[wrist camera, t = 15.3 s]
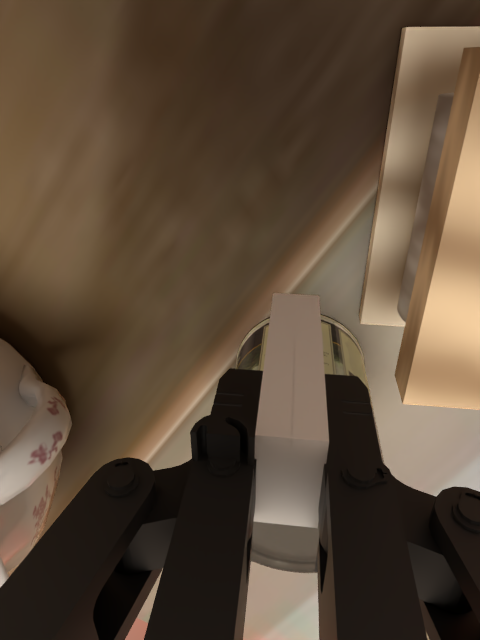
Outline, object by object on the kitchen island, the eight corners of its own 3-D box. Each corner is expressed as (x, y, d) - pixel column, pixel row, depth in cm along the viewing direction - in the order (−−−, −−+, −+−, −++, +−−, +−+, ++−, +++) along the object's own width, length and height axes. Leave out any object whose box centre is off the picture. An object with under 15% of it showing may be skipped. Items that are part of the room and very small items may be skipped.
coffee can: (275, 429, 41) (263, 589, 28) (213, 342, 37) (168, 484, 25) (386, 389, 37) (427, 552, 25) (330, 288, 33) (346, 423, 21)
